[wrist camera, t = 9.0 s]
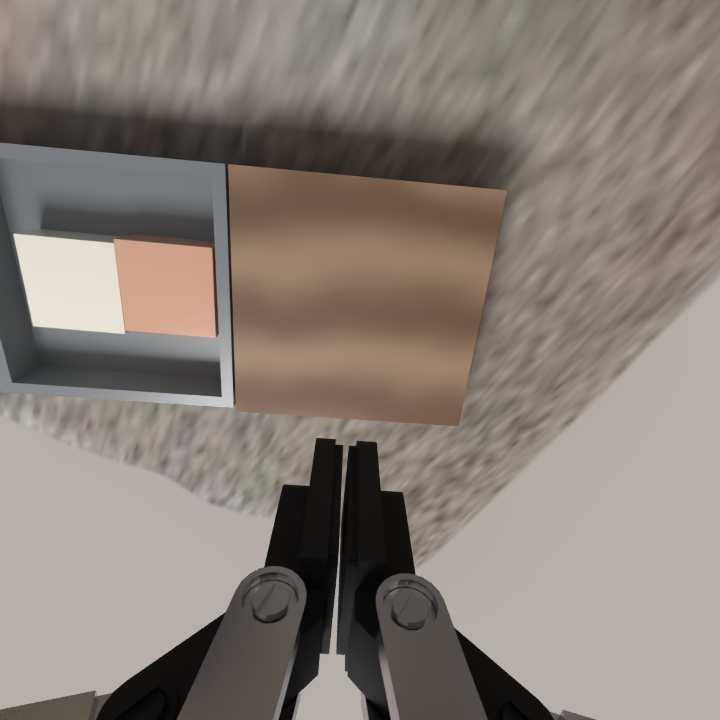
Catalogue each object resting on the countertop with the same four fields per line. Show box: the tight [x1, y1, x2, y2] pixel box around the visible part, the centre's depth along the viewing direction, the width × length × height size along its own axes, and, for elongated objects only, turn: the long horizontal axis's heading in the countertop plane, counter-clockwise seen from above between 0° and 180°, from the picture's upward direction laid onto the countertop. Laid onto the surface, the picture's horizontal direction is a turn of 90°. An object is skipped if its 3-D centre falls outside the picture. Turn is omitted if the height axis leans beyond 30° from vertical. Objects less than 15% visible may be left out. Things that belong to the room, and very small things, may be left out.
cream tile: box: [13, 229, 129, 334], centre depth 29 cm, size 6×6×2 cm
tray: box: [0, 143, 236, 408], centre depth 29 cm, size 16×16×4 cm
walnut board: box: [228, 164, 507, 426], centre depth 29 cm, size 16×16×4 cm
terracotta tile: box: [114, 234, 219, 338], centre depth 29 cm, size 6×6×2 cm
